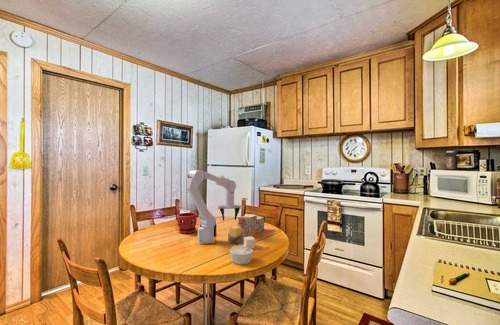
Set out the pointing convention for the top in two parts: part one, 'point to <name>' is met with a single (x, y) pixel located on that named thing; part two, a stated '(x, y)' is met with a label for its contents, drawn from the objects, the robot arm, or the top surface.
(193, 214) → the plant pot
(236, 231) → the ochre block
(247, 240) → the off-white block
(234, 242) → the walnut base block
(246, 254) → the ramekin
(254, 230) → the stack of blocks
